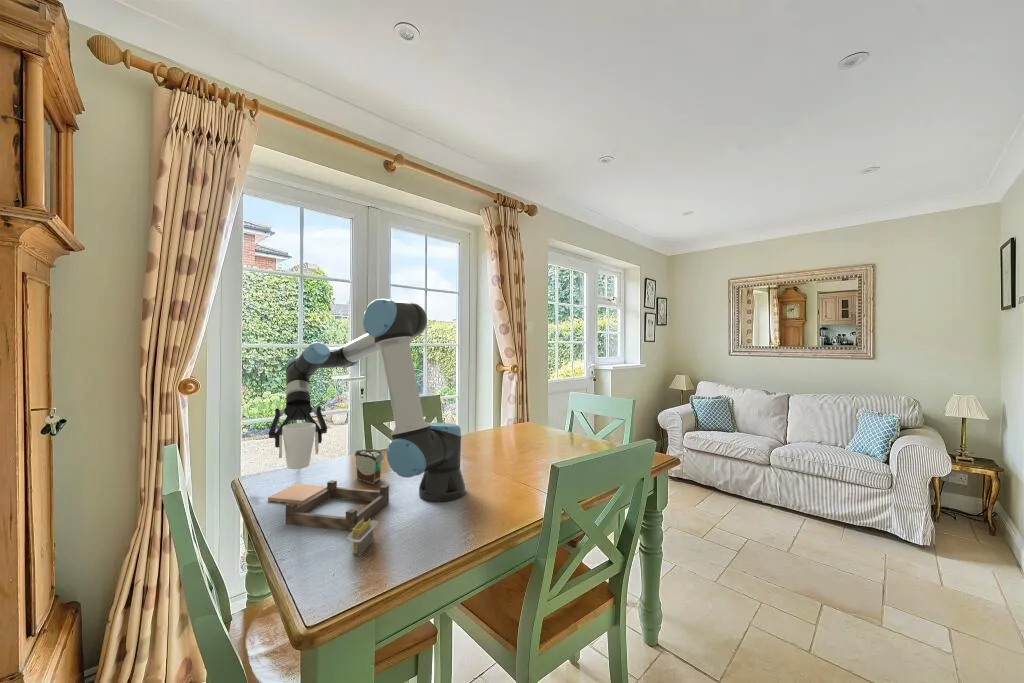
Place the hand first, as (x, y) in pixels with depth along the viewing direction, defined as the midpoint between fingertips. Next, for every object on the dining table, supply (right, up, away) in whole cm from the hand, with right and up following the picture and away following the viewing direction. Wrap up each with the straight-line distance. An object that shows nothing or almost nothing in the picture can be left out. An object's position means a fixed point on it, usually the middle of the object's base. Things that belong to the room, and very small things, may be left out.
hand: (299, 453), depth 125 cm
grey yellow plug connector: (+31, -16, -28) cm, 45 cm away
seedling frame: (+17, -15, -9) cm, 24 cm away
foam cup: (-2, -5, +3) cm, 6 cm away
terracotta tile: (-1, -14, +3) cm, 15 cm away
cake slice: (+17, -15, +19) cm, 29 cm away
